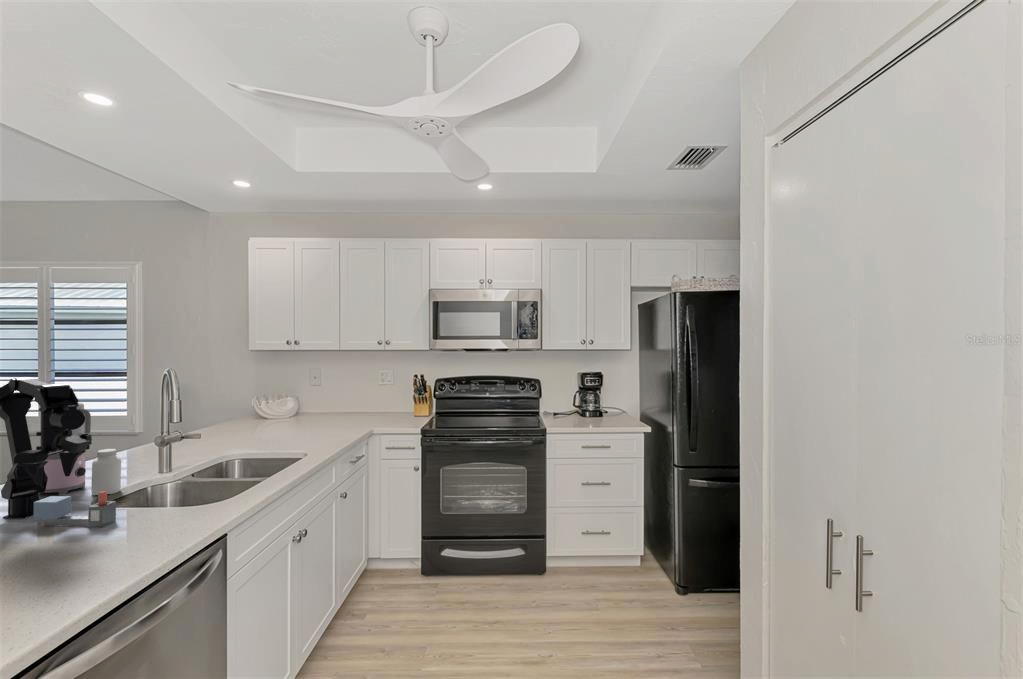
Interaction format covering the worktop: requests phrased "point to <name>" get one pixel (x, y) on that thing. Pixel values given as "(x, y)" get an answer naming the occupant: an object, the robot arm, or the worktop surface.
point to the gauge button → (102, 498)
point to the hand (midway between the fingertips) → (53, 480)
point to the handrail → (68, 521)
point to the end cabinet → (101, 514)
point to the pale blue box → (52, 507)
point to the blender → (55, 469)
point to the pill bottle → (106, 472)
